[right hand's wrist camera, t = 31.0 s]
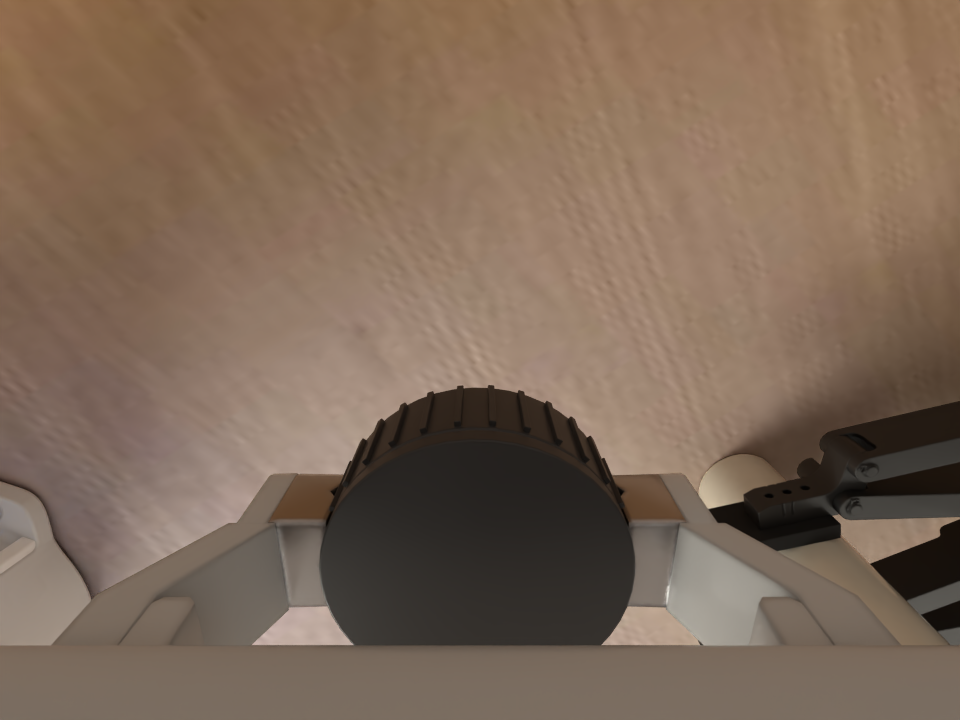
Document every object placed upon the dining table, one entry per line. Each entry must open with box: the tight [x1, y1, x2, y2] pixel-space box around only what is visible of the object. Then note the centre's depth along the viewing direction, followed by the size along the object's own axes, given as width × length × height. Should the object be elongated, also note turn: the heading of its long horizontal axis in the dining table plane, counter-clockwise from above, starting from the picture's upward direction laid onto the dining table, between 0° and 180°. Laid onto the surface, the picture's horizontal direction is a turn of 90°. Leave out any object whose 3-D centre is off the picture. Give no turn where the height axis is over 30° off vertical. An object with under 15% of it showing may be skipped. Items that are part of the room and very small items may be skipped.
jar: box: [699, 454, 951, 645], centre depth 24 cm, size 4×4×15 cm
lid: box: [319, 385, 635, 645], centre depth 9 cm, size 5×5×2 cm
